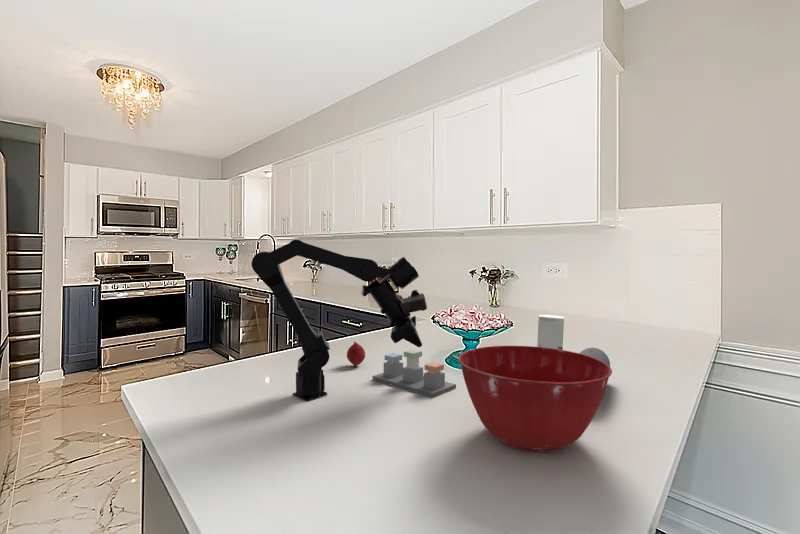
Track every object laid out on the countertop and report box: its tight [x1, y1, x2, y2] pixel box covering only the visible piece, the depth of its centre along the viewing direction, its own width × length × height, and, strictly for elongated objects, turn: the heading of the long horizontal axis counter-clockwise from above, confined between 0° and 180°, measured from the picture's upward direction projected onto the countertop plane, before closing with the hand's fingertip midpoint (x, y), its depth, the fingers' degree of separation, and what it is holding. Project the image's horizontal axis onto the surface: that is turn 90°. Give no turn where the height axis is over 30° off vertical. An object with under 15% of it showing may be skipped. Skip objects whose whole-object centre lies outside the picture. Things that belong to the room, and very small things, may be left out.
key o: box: [384, 352, 403, 365], centre depth 122 cm, size 4×4×5 cm
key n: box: [403, 349, 423, 370], centre depth 117 cm, size 4×4×5 cm
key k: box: [424, 361, 445, 375], centre depth 112 cm, size 4×4×5 cm
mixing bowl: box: [457, 345, 613, 453], centre depth 84 cm, size 28×28×16 cm
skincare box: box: [536, 314, 565, 350], centre depth 142 cm, size 8×6×15 cm
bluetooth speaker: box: [578, 347, 611, 367], centre depth 110 cm, size 23×9×10 cm, turn 149°
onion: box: [346, 340, 366, 367], centre depth 135 cm, size 6×6×8 cm
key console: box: [372, 361, 457, 399], centre depth 117 cm, size 10×22×4 cm, turn 47°
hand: (420, 346), depth 113 cm, fingers closed
